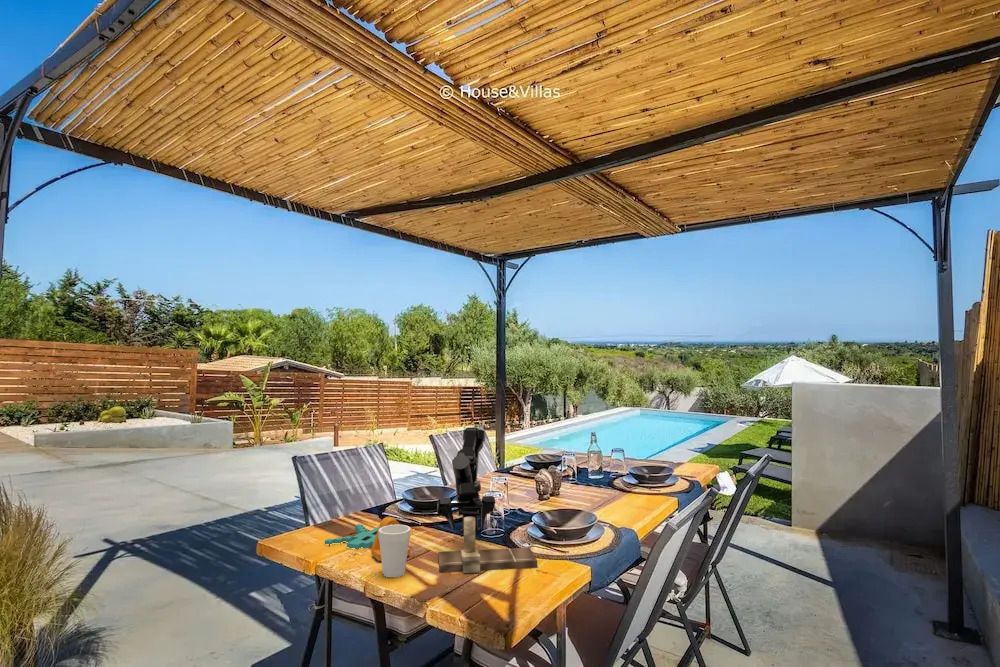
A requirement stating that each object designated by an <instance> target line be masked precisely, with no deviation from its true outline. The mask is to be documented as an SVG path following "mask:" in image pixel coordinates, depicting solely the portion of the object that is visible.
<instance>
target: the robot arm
mask: <svg viewBox="0 0 1000 667" xmlns="http://www.w3.org/2000/svg"><path fill="white" fill-rule="evenodd" d="M462 432H463V433H462V440H463V445H462V448H461V449H459V450H458V451H457V454H456V456H454V458H453V459H452V461H451V465H452V469H453V470H452V471H453V474H454V479H455V490H456V491H455V492H456V501H451V497H439V498H438V500H437V505H436V506H437V507H436V510H437V511H436V512H437V514H438V515H441V516H442V517H444V518H445V519H446V520H447V521H448V524H449V525H450V527H451V529H452V530H453V531H455V530H456V529H455V528H456V527H455V526H456V525H455V520H454V519H455V518H454V514H453V509H457V510H458V511H457V512H458V516H462V528H461V529H459V533H464V517H475V534H477V533H479V531H480V530H483V529H484V527H485V522H486V521H485V520H486V517H487V515H489V514H490V513H491V512H494V509H495V506H496V499H495V497H494V496H493V495H484V496H483V495H482V497H481V496H480V492H481V490H482V486H481V484H482V483H481V480H478V471H479V457H480V456H479V455H480V452H481V451H482V449H483V448H484V442H486V432H485V430H483V429H479V427H471V426H470V427H469V426H468V427H465V429H464V430H463V431H462ZM479 516H480V527H479Z"/></svg>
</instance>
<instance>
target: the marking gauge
mask: <svg viewBox="0 0 1000 667" xmlns="http://www.w3.org/2000/svg"><path fill="white" fill-rule="evenodd" d="M477 550H478V549H476V533H475V517H464V532H463V549H461V550H460V551H461V557H462V562H463V571H462V572H463V574H474V573H481V570H480V554H478V551H477Z"/></svg>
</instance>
